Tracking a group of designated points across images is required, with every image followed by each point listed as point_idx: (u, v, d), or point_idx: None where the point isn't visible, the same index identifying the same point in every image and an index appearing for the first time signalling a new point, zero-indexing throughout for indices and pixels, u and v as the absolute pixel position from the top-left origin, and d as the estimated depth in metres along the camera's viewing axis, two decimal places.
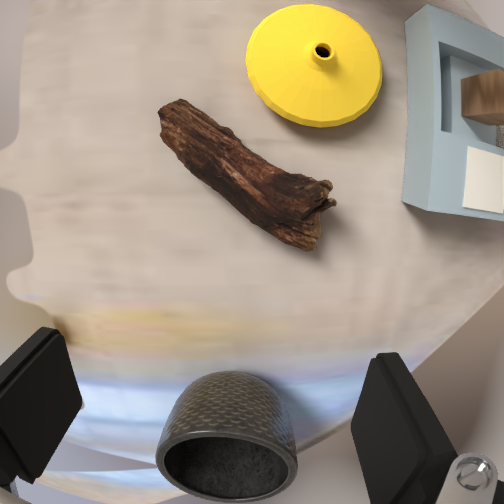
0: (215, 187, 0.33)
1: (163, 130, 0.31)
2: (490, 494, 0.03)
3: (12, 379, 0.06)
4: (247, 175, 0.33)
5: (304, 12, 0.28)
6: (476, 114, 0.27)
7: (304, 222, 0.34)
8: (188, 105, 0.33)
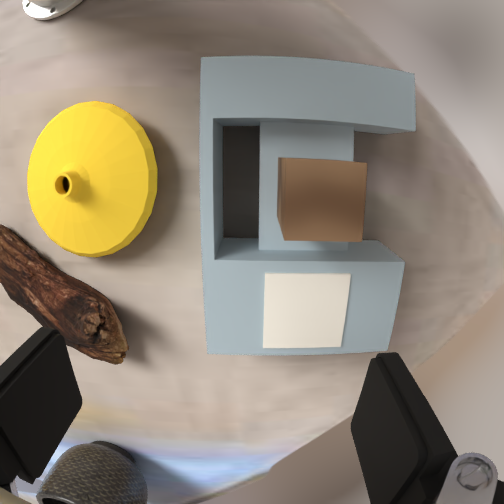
0: (28, 311, 0.31)
1: None
2: (490, 494, 0.03)
3: (12, 379, 0.06)
4: (45, 301, 0.30)
5: (65, 122, 0.25)
6: (280, 223, 0.24)
7: (96, 345, 0.31)
8: (4, 231, 0.31)
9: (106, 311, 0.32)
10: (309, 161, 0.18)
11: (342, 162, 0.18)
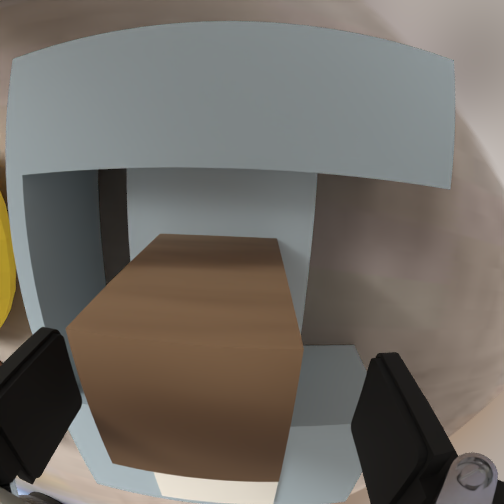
0: None
1: None
2: (491, 494, 0.03)
3: (12, 379, 0.06)
4: None
5: None
6: None
7: None
8: None
9: None
10: (121, 342, 0.06)
11: (219, 350, 0.06)
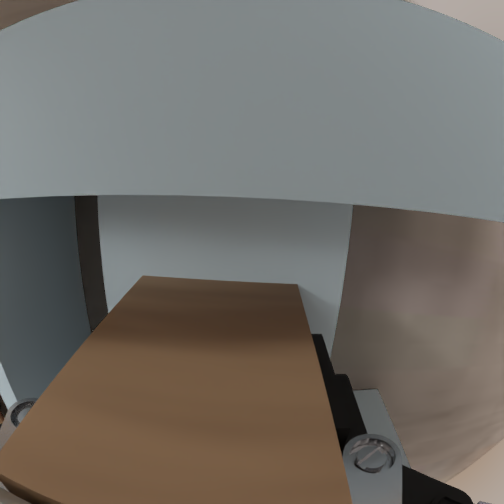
0: None
1: None
2: (398, 472, 0.04)
3: None
4: None
5: None
6: None
7: None
8: None
9: None
10: None
11: None
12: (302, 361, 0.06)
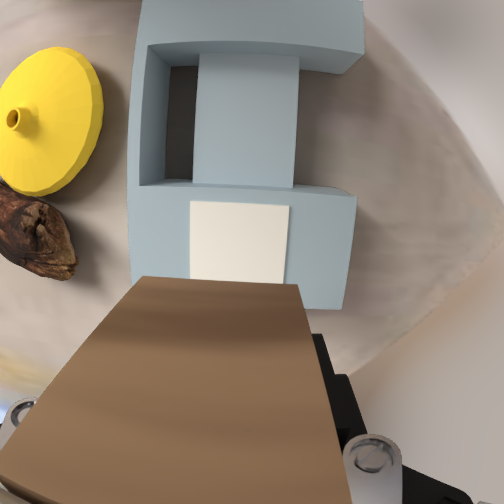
0: None
1: None
2: (398, 472, 0.04)
3: None
4: None
5: (27, 66, 0.22)
6: None
7: (39, 253, 0.26)
8: None
9: (52, 215, 0.27)
10: None
11: None
12: (302, 362, 0.06)
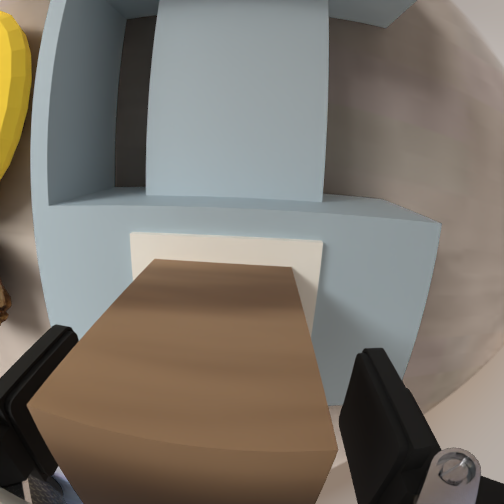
0: None
1: None
2: (474, 489, 0.04)
3: (27, 376, 0.06)
4: None
5: None
6: None
7: None
8: None
9: None
10: (95, 431, 0.04)
11: (225, 453, 0.04)
12: (293, 323, 0.08)
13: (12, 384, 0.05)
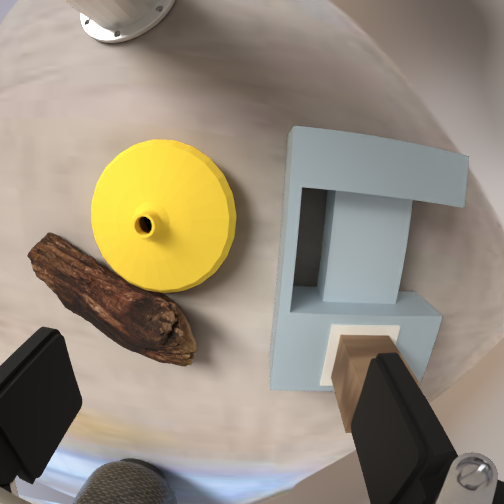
0: (87, 319, 0.33)
1: (35, 273, 0.31)
2: (490, 494, 0.03)
3: (12, 379, 0.06)
4: (107, 307, 0.32)
5: (140, 158, 0.29)
6: (337, 396, 0.27)
7: (166, 346, 0.32)
8: (54, 239, 0.33)
9: None
10: None
11: None
12: None
13: None
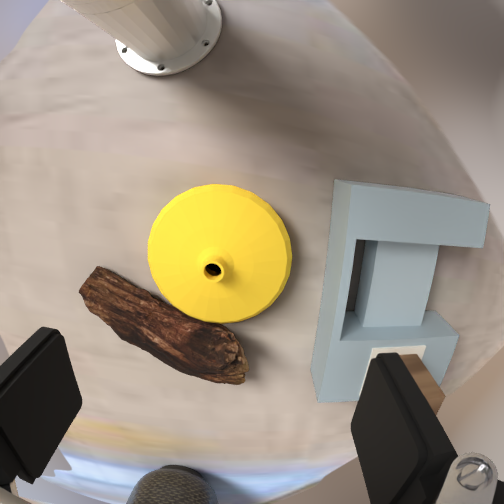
0: (144, 349, 0.36)
1: (88, 308, 0.34)
2: (490, 494, 0.03)
3: (12, 379, 0.06)
4: (166, 338, 0.36)
5: (201, 203, 0.32)
6: None
7: (224, 370, 0.36)
8: (104, 273, 0.36)
9: None
10: None
11: (432, 399, 0.25)
12: (428, 374, 0.28)
13: None
